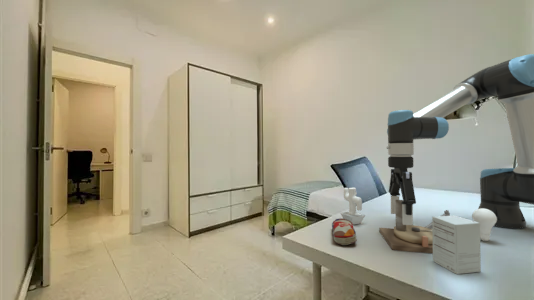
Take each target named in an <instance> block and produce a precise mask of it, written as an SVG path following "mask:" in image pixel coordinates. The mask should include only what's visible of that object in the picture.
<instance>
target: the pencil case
mask: <svg viewBox="0 0 534 300" xmlns="http://www.w3.org/2000/svg"><path fill="white" fill-rule="evenodd" d="M331 228H332V236H333V240H334V242H335V243H336V244H338V245H341V246H348V245H350V244H351V245H352V244H354V243H356V242H357V241H358V239H357V234H356V233H357V231H355V227H354V225H353V224H352V222H351V221H349V220H347V219H343V217H342V218H341V217H340V218H336V219H335V220H333V221H332V223H331Z"/></svg>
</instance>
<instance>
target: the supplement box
mask: <svg viewBox="0 0 534 300" xmlns="http://www.w3.org/2000/svg"><path fill="white" fill-rule="evenodd" d="M431 218H432V220H431V221H432V222H431V223H432V234H433V253H432V261H433V262H434V263H436V264H437V265H439V266H441V267H443V268H444V269H447V270H448V271H450V272H452V273H454V274H456V275H460V274H461V275H463V274H468V273H481V271H482V270H481V269H482V265H481V264H482V263H481V261H482V260H481V256H482V255H481V239H480V223H478V222H475V221H474V220H473V219H468V218H464V217H460V216H457V215H454V214H453V215H450V216H441V215H440V216H439V215H438V216H432V217H431Z"/></svg>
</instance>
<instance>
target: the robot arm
mask: <svg viewBox="0 0 534 300" xmlns="http://www.w3.org/2000/svg"><path fill="white" fill-rule="evenodd" d="M496 96H497V101H499V102H500V103H502V104H504V107H505V111H506V116H507V121H508V124H509V130H510V135H511V138H512V140H511V141H512V144H513V149H514V153H515V158H516V162H517V166H516V167H506V168H484V169H482V170H481V171H480V177H479V183H480V184H479V185H480V191H479V192H480V203H479V205H478V208H477V209H480V208H484V209H488V210H490V211H492V212H493V213H494V214H495V215H496V217H497V222H496V223H495V225H494V226H493V227H496V228H505V229H515V230H517V229H520V230H521V229H525V228H527V221H526V219H525V215H524V214H523V212H522V210H521V208H520V207H521V206H520V203H522V204H529V205H532V206H533V205H534V54H533V53H529V54H525V55H521V56H516V57H514V58H512V59H508V60H506V61H502V62H500V63H497V64H494V65H491V66H487V67H485V68H482V69H480V70H479V71H477V72H476V73H473V74H471V76H469V77H467V78H466V79H464V80H463V81H461V82H459V83H458V84H456V85H455V86H454V87H453V89H452V90H451V91H449V92H447V93H445V94H444V95H442V96H440V97H438V98H437V99H436V100H434V101H432V102H430V103H429V104H427V105H426V106H424V107H422V108H420V109H419V110H417V111H415V112H413V110H411V109H410V110H409V109H399V110H393V111H391V112H389V113H388V117H387V131H386V133H387V144H388V146H386V149H387V151H388V152H387V153H388V155H389V156H388V158H387V163H388V164H387V165H388V167H389V168H391V169H390V180H389V186H388V187H389V188H388V193H389V195H390V214H391V215H396V204H395V200H400V196H401V198H402V200H403V201H402V202H401V204H402V224H403V225H414V224H413V223H414V214H413V213H414V206H413V205H415V204H416V203H417V201H416V194H415V188H414V182H413V173H412V171H408V169H412V168H413V167H414V157H413V155H414V149H415V148H414V141H415V140H426V139H427V140H431V139H432V140H436V139H437V140H438V139H443V138H444V137H446V136H447V135H448V132H449V129H450V125H449V122H448V121H447V119H446V118H445V117H447V116H448V115H450V114H452V113H454V112H456V111H457V110H459V109H460V108H462V107H463V106H465V105H473V103H475V102H478V101H479V100H482V99H483V100H484V99H486V98H491V97H496Z"/></svg>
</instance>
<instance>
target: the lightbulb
mask: <svg viewBox="0 0 534 300" xmlns="http://www.w3.org/2000/svg"><path fill="white" fill-rule="evenodd" d="M471 216H472V221H475V222H478V223H480V240H482V241H483V242H487V241H490V238H491V234H492V229H493V227H495V226H494V225H495V223H496V222H497V217H496V215H495V214H494V213H493V212H492V211H490V210H488V209H484V208H480V209H478V208H477V209H475V210H474V211H473V212H472V215H471Z"/></svg>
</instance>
